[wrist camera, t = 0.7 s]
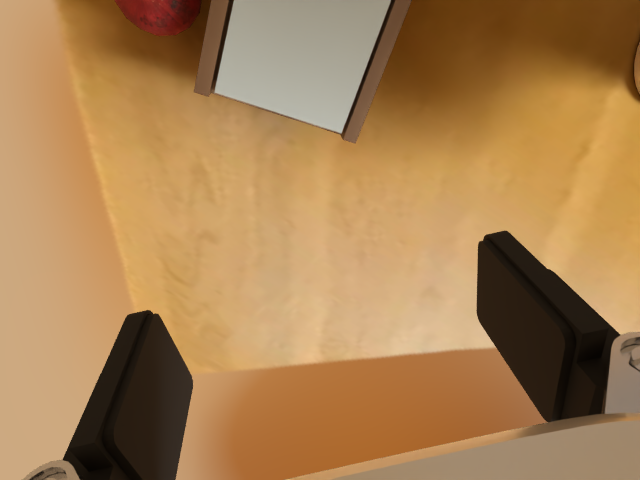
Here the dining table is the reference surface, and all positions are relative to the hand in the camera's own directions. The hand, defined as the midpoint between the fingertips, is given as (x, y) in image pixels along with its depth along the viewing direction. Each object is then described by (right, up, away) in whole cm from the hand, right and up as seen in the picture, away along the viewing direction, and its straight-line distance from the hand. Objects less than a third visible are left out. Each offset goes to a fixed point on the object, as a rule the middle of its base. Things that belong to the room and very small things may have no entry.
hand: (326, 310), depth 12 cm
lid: (0, +18, +14) cm, 23 cm away
